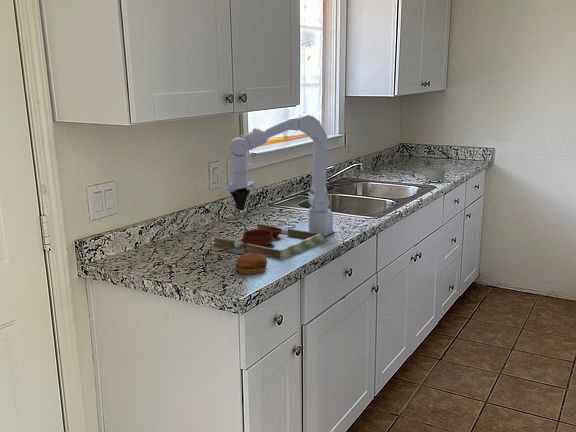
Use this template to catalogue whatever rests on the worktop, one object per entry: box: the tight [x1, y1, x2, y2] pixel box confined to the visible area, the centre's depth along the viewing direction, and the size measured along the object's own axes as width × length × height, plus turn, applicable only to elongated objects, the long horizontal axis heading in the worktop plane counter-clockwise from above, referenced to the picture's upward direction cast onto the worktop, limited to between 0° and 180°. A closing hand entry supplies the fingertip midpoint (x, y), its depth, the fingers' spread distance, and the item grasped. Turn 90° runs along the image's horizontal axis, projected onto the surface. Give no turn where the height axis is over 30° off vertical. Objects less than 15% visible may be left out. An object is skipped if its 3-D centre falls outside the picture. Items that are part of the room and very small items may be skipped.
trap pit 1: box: [224, 247, 247, 256], centre depth 190 cm, size 4×6×1 cm, turn 55°
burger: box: [234, 252, 268, 275], centre depth 172 cm, size 10×9×5 cm
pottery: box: [240, 227, 283, 247], centre depth 201 cm, size 12×20×4 cm, turn 152°
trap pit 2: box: [279, 229, 288, 236], centre depth 213 cm, size 4×6×1 cm, turn 55°
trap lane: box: [214, 223, 325, 260], centre depth 199 cm, size 25×29×3 cm
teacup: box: [424, 166, 446, 181], centre depth 317 cm, size 14×11×8 cm
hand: (240, 209), depth 205 cm, fingers closed
